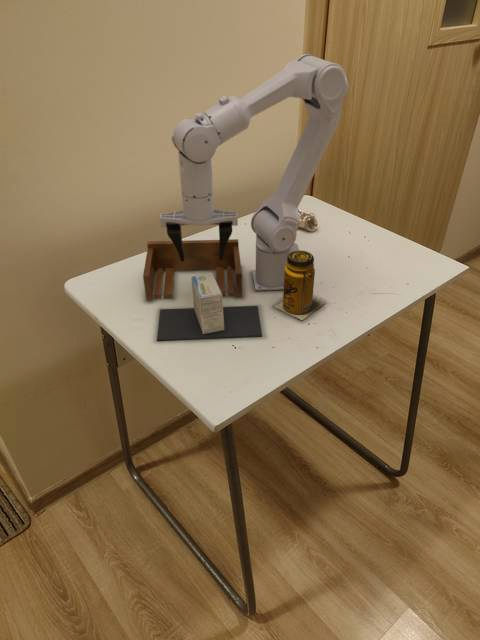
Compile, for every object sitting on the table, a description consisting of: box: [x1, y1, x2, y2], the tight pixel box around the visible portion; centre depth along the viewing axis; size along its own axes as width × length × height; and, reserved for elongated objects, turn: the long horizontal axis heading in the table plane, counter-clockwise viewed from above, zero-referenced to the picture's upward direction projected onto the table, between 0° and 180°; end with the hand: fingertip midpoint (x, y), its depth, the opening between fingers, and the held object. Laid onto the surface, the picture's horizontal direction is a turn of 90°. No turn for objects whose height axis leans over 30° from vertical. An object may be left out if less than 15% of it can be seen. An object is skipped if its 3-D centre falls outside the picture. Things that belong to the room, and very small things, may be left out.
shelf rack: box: [142, 238, 243, 302], centre depth 108 cm, size 20×13×7 cm, turn 96°
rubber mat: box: [156, 305, 263, 342], centre depth 99 cm, size 20×10×1 cm, turn 96°
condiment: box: [274, 249, 327, 321], centre depth 101 cm, size 7×8×12 cm
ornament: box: [298, 209, 319, 232], centre depth 132 cm, size 8×7×4 cm
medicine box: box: [191, 273, 224, 334], centre depth 96 cm, size 8×4×9 cm, turn 18°
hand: (201, 258), depth 100 cm, fingers open, 7 cm apart
